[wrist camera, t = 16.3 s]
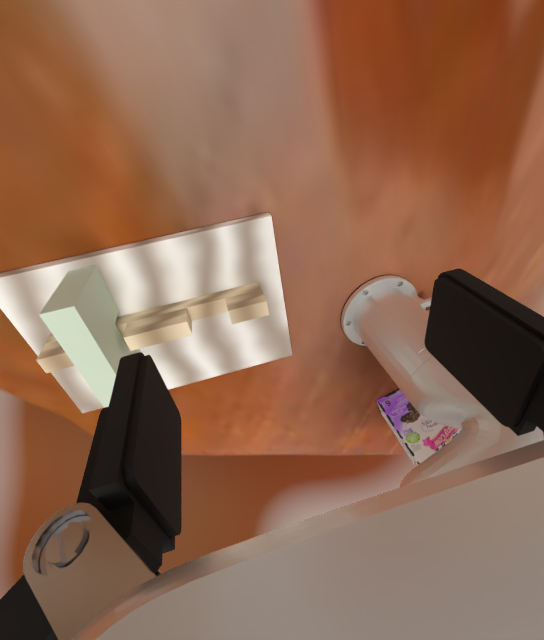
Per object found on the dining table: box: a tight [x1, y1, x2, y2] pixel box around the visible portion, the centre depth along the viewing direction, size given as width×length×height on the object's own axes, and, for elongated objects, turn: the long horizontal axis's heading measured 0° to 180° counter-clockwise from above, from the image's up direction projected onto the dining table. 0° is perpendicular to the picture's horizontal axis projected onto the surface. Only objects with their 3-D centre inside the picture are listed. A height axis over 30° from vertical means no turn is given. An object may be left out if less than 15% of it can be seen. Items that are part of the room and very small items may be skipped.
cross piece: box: [39, 265, 141, 408], centre depth 36 cm, size 16×3×9 cm, turn 9°
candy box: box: [376, 389, 461, 467], centre depth 58 cm, size 14×6×16 cm, turn 115°
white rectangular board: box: [0, 212, 292, 413], centre depth 40 cm, size 32×22×6 cm
